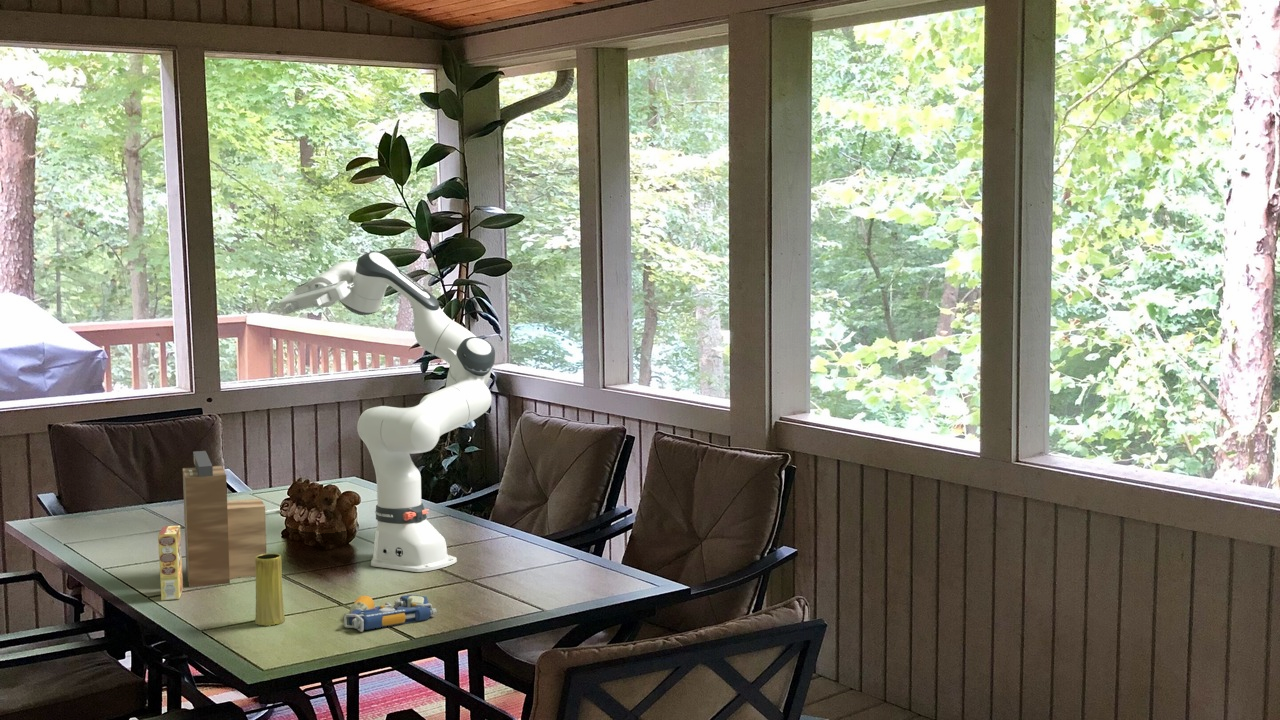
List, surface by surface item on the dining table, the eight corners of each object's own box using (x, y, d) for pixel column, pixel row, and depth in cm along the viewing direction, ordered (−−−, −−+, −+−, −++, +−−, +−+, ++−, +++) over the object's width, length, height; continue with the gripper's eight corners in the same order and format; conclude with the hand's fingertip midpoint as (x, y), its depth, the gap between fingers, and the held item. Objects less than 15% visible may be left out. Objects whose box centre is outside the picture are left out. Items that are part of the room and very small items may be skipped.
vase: (288, 617, 262) (286, 552, 260) (280, 626, 256) (278, 559, 254) (259, 617, 261) (257, 552, 260) (251, 626, 255) (249, 559, 254)
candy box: (180, 599, 275) (177, 533, 274) (160, 601, 274) (157, 534, 273) (183, 589, 284) (181, 524, 283) (164, 590, 283) (161, 526, 281)
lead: (193, 461, 307) (192, 451, 306) (206, 460, 308) (205, 450, 308) (199, 476, 285) (198, 466, 284) (212, 475, 286) (212, 465, 286)
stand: (186, 572, 299) (182, 467, 296) (262, 565, 306) (259, 461, 303) (189, 587, 286) (185, 476, 283) (269, 578, 293) (265, 471, 291)
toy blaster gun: (326, 618, 262) (353, 637, 250) (326, 599, 261) (353, 617, 249) (415, 604, 274) (445, 621, 262) (415, 586, 273) (445, 602, 261)
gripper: (361, 292, 336) (337, 309, 323) (300, 308, 342) (274, 325, 330) (352, 271, 334) (328, 288, 321) (291, 287, 341) (265, 304, 328)
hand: (301, 307), depth 326 cm, fingers open, 8 cm apart
